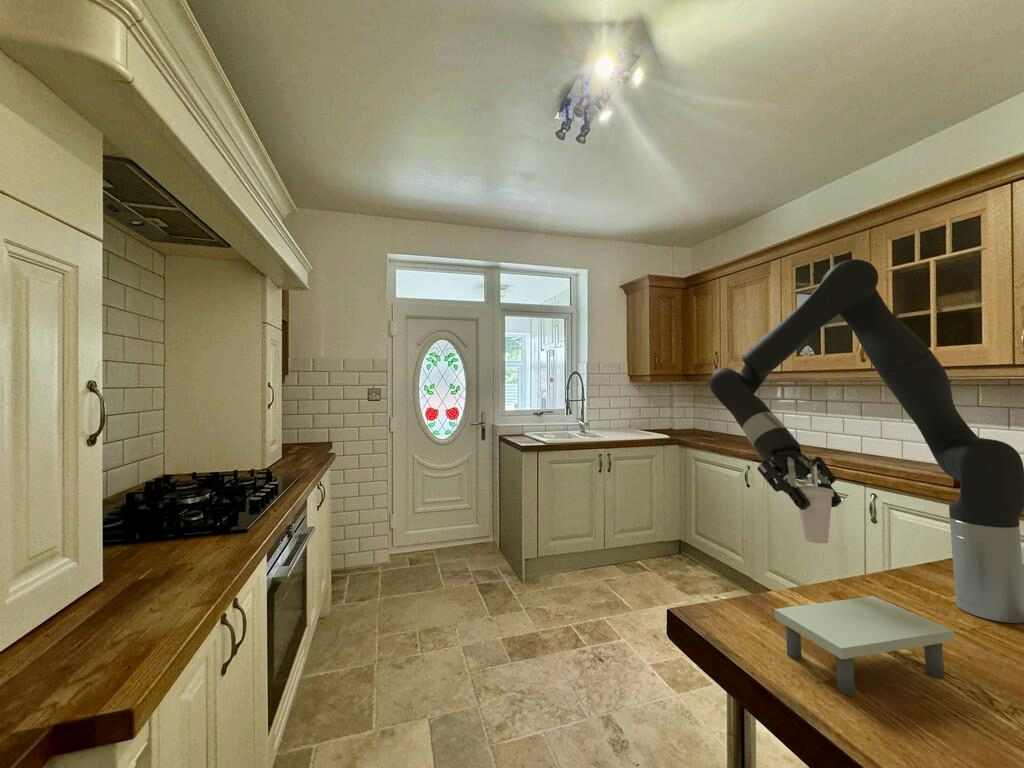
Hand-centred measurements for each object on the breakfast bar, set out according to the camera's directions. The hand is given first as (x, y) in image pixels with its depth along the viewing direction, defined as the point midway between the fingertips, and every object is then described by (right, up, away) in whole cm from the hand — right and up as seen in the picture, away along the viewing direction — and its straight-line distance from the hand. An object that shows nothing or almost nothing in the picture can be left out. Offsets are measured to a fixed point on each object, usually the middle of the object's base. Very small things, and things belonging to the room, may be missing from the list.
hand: (821, 505), depth 82 cm
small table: (-3, -21, -13) cm, 25 cm away
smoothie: (0, -7, +1) cm, 7 cm away
